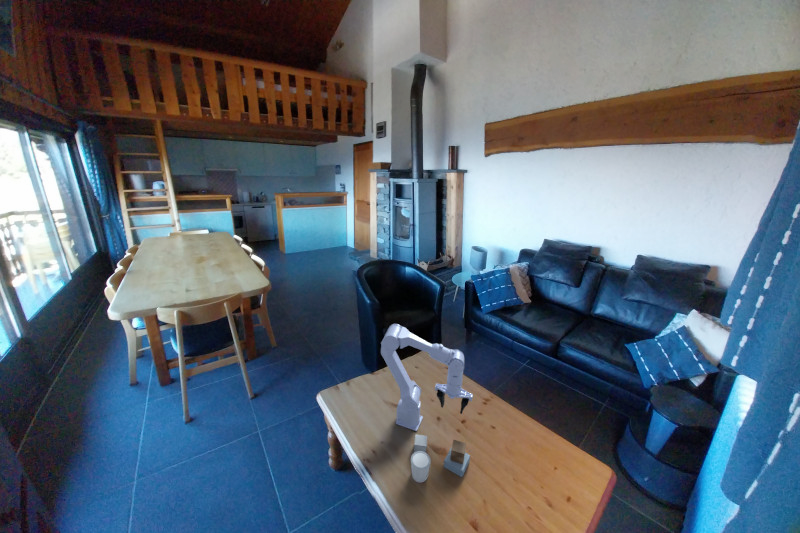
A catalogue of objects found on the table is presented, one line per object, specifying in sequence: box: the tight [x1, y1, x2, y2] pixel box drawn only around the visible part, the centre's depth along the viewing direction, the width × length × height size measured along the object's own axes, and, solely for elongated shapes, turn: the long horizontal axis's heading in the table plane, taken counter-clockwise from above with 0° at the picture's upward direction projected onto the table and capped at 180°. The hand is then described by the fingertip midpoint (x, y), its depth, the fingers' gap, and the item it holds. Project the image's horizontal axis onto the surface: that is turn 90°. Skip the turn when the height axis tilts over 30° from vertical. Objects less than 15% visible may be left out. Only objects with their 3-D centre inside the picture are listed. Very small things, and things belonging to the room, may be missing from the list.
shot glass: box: [410, 451, 432, 483], centre depth 104 cm, size 7×7×7 cm
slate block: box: [443, 446, 471, 478], centre depth 108 cm, size 7×7×4 cm
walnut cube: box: [450, 439, 467, 464], centre depth 107 cm, size 4×4×5 cm
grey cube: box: [413, 434, 428, 454], centre depth 113 cm, size 4×4×5 cm
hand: (451, 408), depth 120 cm, fingers open, 7 cm apart
